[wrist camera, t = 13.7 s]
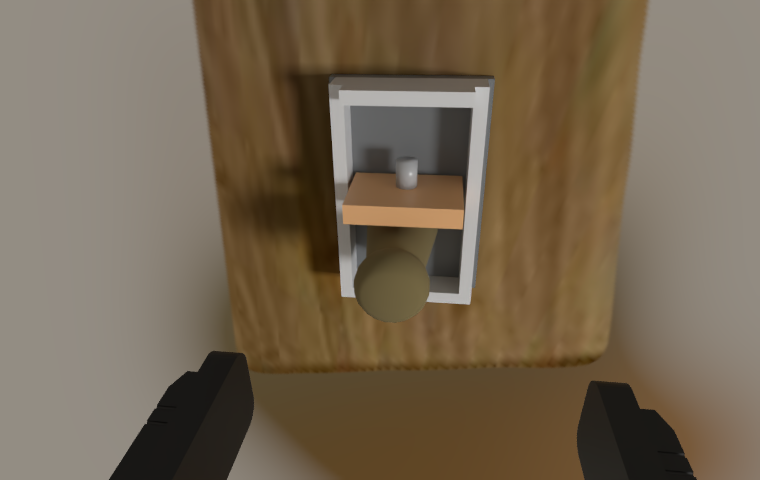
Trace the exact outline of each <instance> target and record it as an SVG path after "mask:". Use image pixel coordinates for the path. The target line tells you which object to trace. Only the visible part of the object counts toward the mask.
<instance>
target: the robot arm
mask: <svg viewBox="0 0 760 480" xmlns="http://www.w3.org/2000/svg"><path fill="white" fill-rule="evenodd" d="M253 410H254V397H253V392H252V386H251V381H250V376H249V370H248V365H247V360H246V357H245V355H244V354H243V353H233V352H220V351H212V352H210V353H209V354H208V356H207V358H206V359H205V361H204V363H203V364H202V366H201V368H200V369H199V371H198V372H190V371H187V372H186V373H185V374H184V375H182V376H181V377H180V378H179V379H178V380H176V381H175V382H174V383H173V384H172V385H170V386H169V387H168V389H167V391H166V392H165V394H164V395H163V397H162V398H161V400H160V401H159V403H158V404H157V408H156V409H154V411H153V412H152V414H151V415H150V417H149V418H148V420H147V424H145V425H144V426H143V428H142V429H141V431H140V433H139V434H138V436H137V437H136V439H135V440H134V442H133V443H132V445H131V446H130V448H129V449H128V451H127V452H126V454H125V456H124V457H123V459H122V460H121V462H120V463H119V465H118V466H117V468H116V470H115V471H114V473H113V474H112V476H111V477H110V479H109V480H227V478H228V475H229V473H230V471H231V468H232V466H233V463H234V461H235V459H236V457H237V454H238V452H239V449H240V447H241V445H242V442H243V440H244V438H245V435H246V433H247V431H248V428H249V426H250V423H251V420H252V416H253ZM577 447H578V455H579V459H580V463H581V467H582V471H583V475H584V478H585V480H697V479H696V477H694V476H693V470H692V468H691V466H690V464H689V462H688V460H687V458H685V456H684V451H683V449H682V447H681V445H680V442H679V440H678V438H677V436H676V434H675V432H674V430H673V429H672V428H671V427H670V426H669V425H668V424H667V423H666V422H665V421H664V419H663V418H662V417H661V416H660V415H659V414H658V413H657V412H656V411H655V410H648V409H647V410H646V409H640V408H639V405H638V403H637V401H636V398H635V396H634V393H633V391H632V389H631V387H630V385H629V384H627V383H616V382H602V381H591V382H590V384H589V386H588V390H587V394H586V397H585V401H584V406H583V409H582V413H581V417H580V421H579V424H578V430H577Z"/></svg>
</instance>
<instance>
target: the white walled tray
mask: <svg viewBox="0 0 760 480" xmlns="http://www.w3.org/2000/svg"><path fill="white" fill-rule="evenodd" d="M494 82H495V78H494V76H451V75H366V74H331V75H330V76H329V85H328V86H329V102H330V118H331V134H332V150H333V166H334V182H335V198H336V214H337V230H338V246H339V262H340V278H341V294H342V297H355V293H354V278H355V275H356V272H357V269H358V266H359V265H360V264H361V263H362V262H363V260H364V259H365V258H366V246H367V225H353V224H343V211H342V204H343V202H344V200H345V197H346V195H347V192H348V190H349V188H350V185H351V183H352V181H353V178H354V176H355V174H356V172H358V173H388V174H396V159H397V158H399V157H403V156H410V157H415V158H417V159H418V171H417V174H418V175H448V176H462V178H463V198H464V218H463V229H442V228H438V232H437V235H436V238H435V241H434V244H433V247H432V250H431V253H430V256H429V259H428V262H427V265H426V270H427V273H428V276H429V279H430V289H429V296H428V299H427V301H426V302H439V303H455V304H470V300H471V289H472V288H475V282H476V271H477V261H478V250H479V240H480V229H481V219H482V208H483V198H484V187H485V177H486V166H487V156H488V145H489V135H490V124H491V114H492V103H493V93H494Z"/></svg>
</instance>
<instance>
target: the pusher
mask: <svg viewBox="0 0 760 480" xmlns="http://www.w3.org/2000/svg"><path fill="white" fill-rule="evenodd" d="M417 171H418V159H417V158H415V157H410V156H403V157H399V158H397V159H396V174H388V173H358V172H356V174H355V176H354V178H353V181H352V183H351V185H350V188H349V190H348V192H347V195H346V197H345V200H344V202H343V204H342V211H343V224H353V225H375V226H397V227H420V228H442V229H463V218H464V198H463V178H462V176H448V175H418V174H417Z"/></svg>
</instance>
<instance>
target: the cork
mask: <svg viewBox="0 0 760 480" xmlns="http://www.w3.org/2000/svg"><path fill="white" fill-rule="evenodd" d="M437 232H438V228H420V227H397V226H375V225H367V246H366V258H365V259H364V260H363V262H362V263H361V264H360V265H359V266H358V269H357V272H356V275H355V278H354V293H355V297H356V299H357V301H358V304H359V305H360V306H361V307H362V308H363V309H364V311H365V312H366V313H367V314H368V315H370V316H372V317H373V318H375V319H377V320H380V321H383V322H393V323H396V322H401V321H405V320H407V319H409V318H411V317H413V316H415V315H416V314H417V313H418V312H419V311H420V310H421V309H422V308H423V307H424V305H425V303H426V301H427V299H428V296H429V289H430V279H429V276H428V273H427V270H426V265H427V262H428V259H429V256H430V253H431V250H432V247H433V244H434V241H435V238H436V235H437Z"/></svg>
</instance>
